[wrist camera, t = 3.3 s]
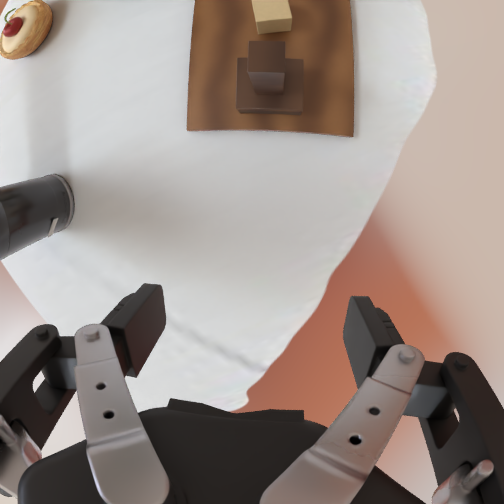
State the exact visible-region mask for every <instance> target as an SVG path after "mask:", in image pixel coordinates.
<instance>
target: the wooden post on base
mask: <svg viewBox="0 0 504 504" xmlns="http://www.w3.org/2000/svg"><path fill="white" fill-rule="evenodd" d="M303 82H304V60H303V59H292V58H285V41H248V57H242V58H237V78H236V109H237V110H238V111H239V112H240V113H259V114H286V115H301V113H302V111H303Z"/></svg>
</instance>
